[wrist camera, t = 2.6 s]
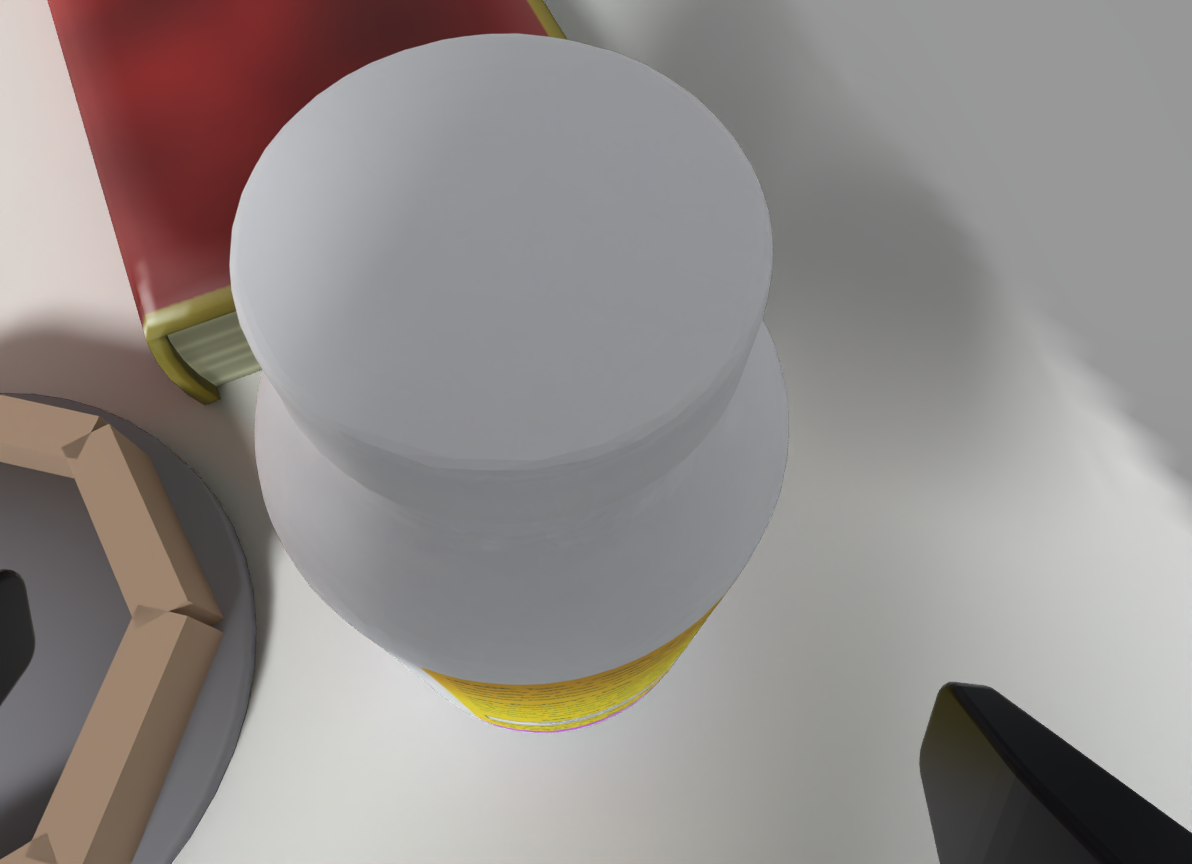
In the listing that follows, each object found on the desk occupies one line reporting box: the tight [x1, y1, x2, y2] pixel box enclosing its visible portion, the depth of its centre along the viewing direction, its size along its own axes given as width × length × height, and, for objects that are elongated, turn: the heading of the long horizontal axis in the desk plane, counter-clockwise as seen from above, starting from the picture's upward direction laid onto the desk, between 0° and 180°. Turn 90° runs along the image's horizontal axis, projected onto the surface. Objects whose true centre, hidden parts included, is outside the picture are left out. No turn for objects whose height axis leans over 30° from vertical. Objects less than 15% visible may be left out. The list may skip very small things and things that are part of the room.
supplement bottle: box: [230, 33, 789, 734], centre depth 13 cm, size 7×7×13 cm
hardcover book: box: [48, 0, 567, 405], centre depth 24 cm, size 12×21×4 cm, turn 25°
